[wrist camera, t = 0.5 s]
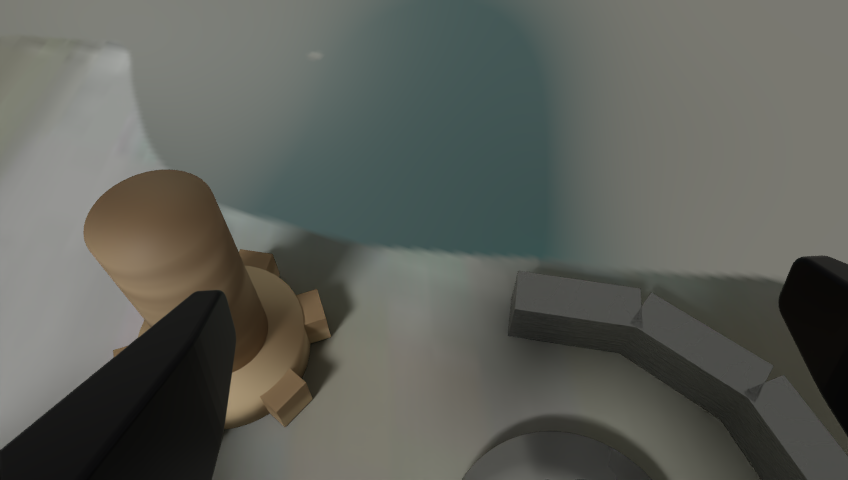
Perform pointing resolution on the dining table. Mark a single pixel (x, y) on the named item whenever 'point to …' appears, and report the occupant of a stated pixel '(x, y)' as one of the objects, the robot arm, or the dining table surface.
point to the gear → (208, 285)
